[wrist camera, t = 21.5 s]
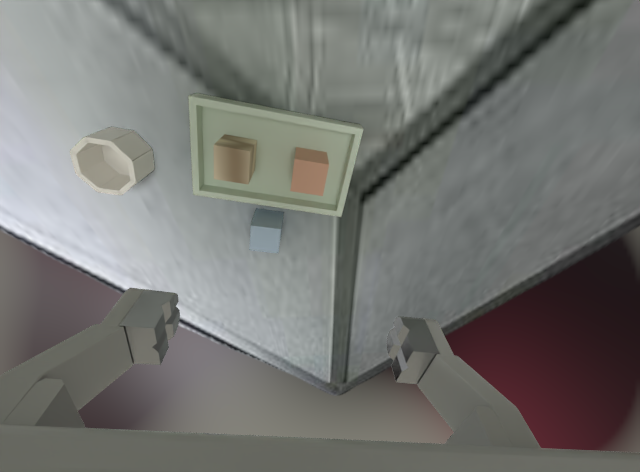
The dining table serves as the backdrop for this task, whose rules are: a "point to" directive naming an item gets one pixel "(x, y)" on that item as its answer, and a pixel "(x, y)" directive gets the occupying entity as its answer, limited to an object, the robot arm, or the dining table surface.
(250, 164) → the birch block
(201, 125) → the tray
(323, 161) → the terracotta block
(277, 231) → the blue block
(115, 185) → the cup
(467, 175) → the dining table surface
